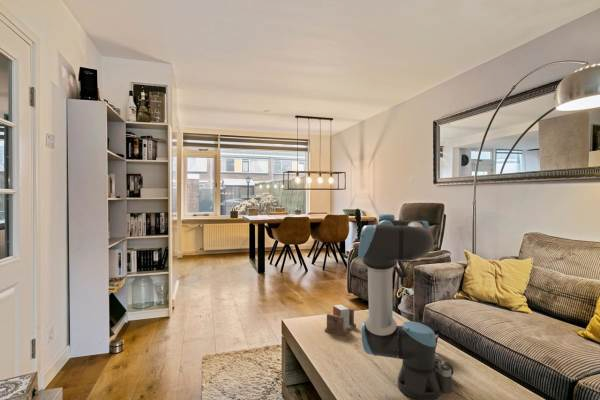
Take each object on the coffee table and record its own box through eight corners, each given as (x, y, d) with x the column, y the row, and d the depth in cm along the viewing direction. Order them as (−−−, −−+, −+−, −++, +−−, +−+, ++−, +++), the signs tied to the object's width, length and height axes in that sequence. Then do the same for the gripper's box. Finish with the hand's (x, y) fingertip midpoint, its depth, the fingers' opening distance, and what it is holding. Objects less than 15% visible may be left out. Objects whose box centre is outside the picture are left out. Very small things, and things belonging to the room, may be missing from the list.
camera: (466, 390, 119) (466, 363, 119) (443, 394, 116) (443, 367, 116) (437, 368, 134) (437, 344, 134) (416, 371, 131) (416, 347, 131)
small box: (332, 324, 176) (332, 305, 176) (341, 322, 178) (341, 303, 178) (340, 329, 169) (340, 310, 168) (349, 328, 171) (349, 308, 171)
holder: (342, 337, 163) (343, 319, 163) (324, 332, 169) (324, 314, 169) (356, 325, 178) (356, 309, 178) (338, 321, 184) (338, 305, 184)
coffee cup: (442, 359, 141) (442, 332, 141) (416, 357, 143) (416, 330, 143) (436, 348, 152) (437, 323, 152) (412, 345, 154) (413, 321, 154)
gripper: (414, 247, 153) (414, 291, 153) (365, 242, 166) (364, 283, 166) (410, 249, 146) (410, 295, 147) (359, 244, 160) (359, 286, 160)
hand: (386, 288), depth 157 cm, fingers open, 13 cm apart
